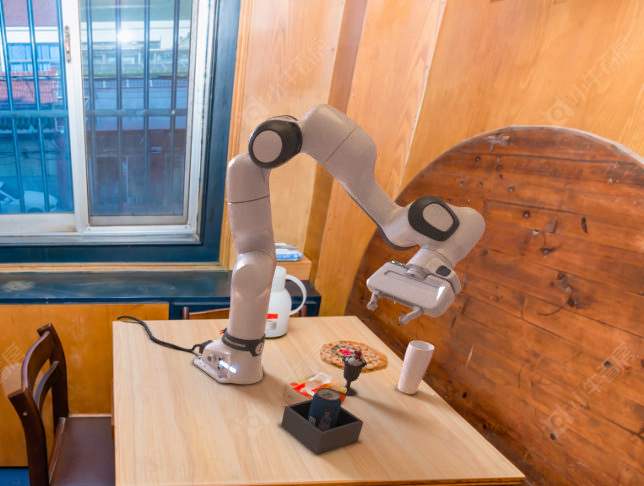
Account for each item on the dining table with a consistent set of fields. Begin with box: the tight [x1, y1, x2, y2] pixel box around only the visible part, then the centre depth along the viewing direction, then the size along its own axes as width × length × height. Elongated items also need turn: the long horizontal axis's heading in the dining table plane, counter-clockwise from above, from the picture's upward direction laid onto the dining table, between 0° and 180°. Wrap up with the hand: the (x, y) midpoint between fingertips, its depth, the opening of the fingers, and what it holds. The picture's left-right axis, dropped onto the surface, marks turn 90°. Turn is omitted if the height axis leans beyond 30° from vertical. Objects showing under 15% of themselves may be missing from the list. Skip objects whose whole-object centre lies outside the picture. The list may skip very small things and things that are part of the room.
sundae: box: [341, 348, 368, 396], centre depth 148 cm, size 7×7×15 cm
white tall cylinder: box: [397, 340, 435, 395], centre depth 150 cm, size 7×7×15 cm
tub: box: [280, 398, 364, 455], centre depth 132 cm, size 14×14×6 cm
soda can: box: [307, 387, 343, 432], centre depth 130 cm, size 7×7×12 cm
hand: (385, 315), depth 122 cm, fingers open, 8 cm apart
